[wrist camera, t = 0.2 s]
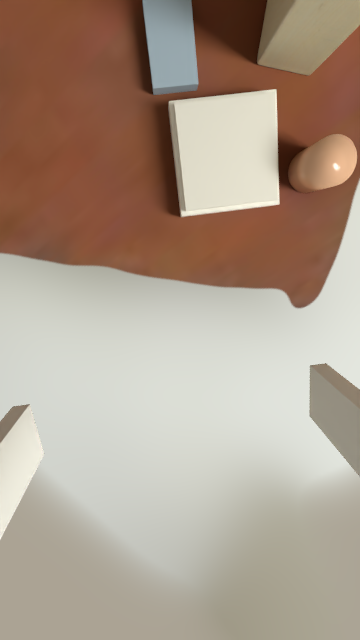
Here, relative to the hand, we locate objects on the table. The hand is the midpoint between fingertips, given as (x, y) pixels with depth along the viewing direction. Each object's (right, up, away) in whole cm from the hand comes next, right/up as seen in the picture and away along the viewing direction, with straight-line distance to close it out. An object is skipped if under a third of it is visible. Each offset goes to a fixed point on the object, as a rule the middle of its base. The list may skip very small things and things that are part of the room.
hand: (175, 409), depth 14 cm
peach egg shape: (+16, +23, +24) cm, 37 cm away
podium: (+6, +24, +23) cm, 33 cm away
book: (-1, +34, +20) cm, 39 cm away
